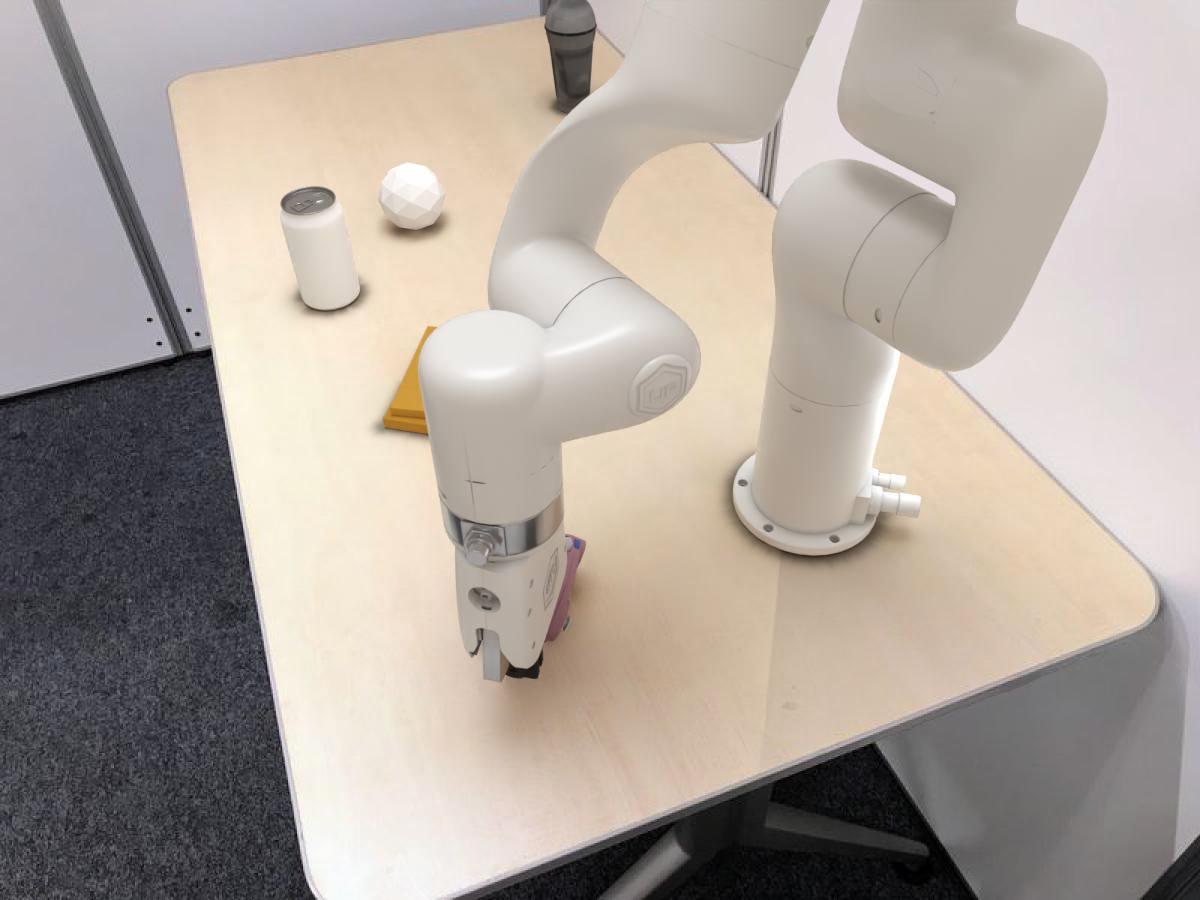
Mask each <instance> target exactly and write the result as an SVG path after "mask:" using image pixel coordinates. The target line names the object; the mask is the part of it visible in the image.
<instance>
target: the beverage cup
mask: <svg viewBox="0 0 1200 900" xmlns="http://www.w3.org/2000/svg"><path fill="white" fill-rule="evenodd" d="M594 12H595V11H594V8H593V6H592V5H591V3H590V2H589V1H588V0H552V1H551V2H550V4H549V6H548V8H547V10H546V13H545V19H544V25H543V27H544V30H545V34H546V39H547V43H548V45H549V55H550V62H551V69H552V76H553V83H554V84H553V85H554V92H555V97H556V101H557V108H558V110H559V111H561V112H563V113H567V114H569V113H570V112H571V111H572V110H573V109H574V108H575V107H576V106H577V105H578V104H580V103H581V102H582V101H583V100H584V99H585V98H587V97H588V96H589V95H590V94H591V87H592V86H591V85H592V84H591V83H592V67H593V54H594V42H595V39H596V32H597V27H598V24H597V20H596V19H597V18H596V15H595V13H594Z"/></svg>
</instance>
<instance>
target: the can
mask: <svg viewBox="0 0 1200 900" xmlns="http://www.w3.org/2000/svg"><path fill="white" fill-rule="evenodd" d="M279 204H280V207H281V209H280V214H279V219H280V224H281V228H282V232H283V235H284V239H285V244H286V247H287V249H288V253H289V257H290V261H291V264H292V268H293V272H294V276H295V279H296V282H297V285H298V289H299V293H300V297H301V299H302V301H303V303H304V304H306V305H307V306H308V307H310V308H312V309H314V310H317V311H324V312H325V311H326V312H328V311H329V312H330V311H336V310H340V309H343V308H345V307H348V306H349V305H351V304H352V303H353V302H354V301H355V300H356V299H357V298H358V296H359V294H360V292H361V284H360V280H359V276H358V272H357V267H356V261H355V257H354V253H353V248H352V244H351V239H350V235H349V231H348V225H347V222H346V217H345V214H344V209H343V207H342V205H341V203H340V202H339V201H338V200H337V197H336V193H335V192H334V191H333V190H332V189H330V188H328V187H325V186H318V185H310V186H302V187H299V188H298V187H297V188H295V189H293V190H291V191H289V192H287V193H286V194H285V195H284V196H283V197H282V198H281V200H280V203H279Z"/></svg>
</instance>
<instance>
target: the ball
mask: <svg viewBox="0 0 1200 900" xmlns="http://www.w3.org/2000/svg"><path fill="white" fill-rule="evenodd" d="M445 199H446V192H445V190H444V188H443V185H442V184H441V182H440V179H439V177H438V175H437V174H436V173H434V172H433V170H431V169H430V168H428V167H427V166H426V165H422V164H417V163H411V162H404V163H402V164H400V165H397V166H395V167H393V168H390V169H388V172H387V173H386V175H385V176H384V178H383V180H382V181H381V183H380V189H379V195H378V200H377V201H378V203H379V204H380V207H381V209H382V211H383V213H384V215H385V218H386V219H387V220H388V221H390V222H391V223H393V224H394V225H395V226H396V227H398V228H402V229H408V230H413V231H418V230H421V229H424V228H426V227H429V226H432V225H434V224H435V223H436V221H437V220H438V219H439V217H440V216H441V214H442V212H443V207H444V202H445Z"/></svg>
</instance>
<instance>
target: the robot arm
mask: <svg viewBox="0 0 1200 900" xmlns="http://www.w3.org/2000/svg"><path fill="white" fill-rule="evenodd" d="M861 1H862V2H861V5H860V9H859V12H858V16H857V19H856V22H855V26H854V28H853V29H854V30H853V32H852V36H851V39H850V43H849V46H848V50H847V53H846V56H845V60H844V64H843V68H842V72H841V76H840V81H839V85H838V90H837V99H836V111H837V114H838V118H839V122H840V123H841V125H842V127H843V129H844V130H845V131H846V132H847V133H848V134H849V135H850V136H851V137H852V138H853V139H854V140H855V141H857V142H858V143H859V144H861V145H863V146H864V147H866V148H868V149H870V150H871V151H873V152H874V153H876V154H878V155H880V156H882V157H884V158H885V159H888V160H889V161H891V162H893V163H895V164H897V165H899V166H901V167H903V168H905V169H908V170H909V171H911V172H913V173H915V174H917V175H919V176H920V177H923V178H925V179H926V180H929V181H931V182H933V183H935V184H937V185H938V186H940V187H942V188H944V189H946V190H948V191H950V192H952V194H954V197H955V199H954V201H955V202H954V204H952V203H950V202H948V201H946V200H944V199H942V198H940V197H939V196H938V195H937V194H935V193H932V192H931V191H929V190H927V189H925V188H923V187H921V186H919V185H917V184H916V183H913V182H911V181H909V180H907V179H906V178H904V177H902V176H899V175H898V174H896V173H893V172H892V171H889V170H888V169H885V168H883V167H880V166H878V165H875V164H873V163H869V162H866V161H862V160H858V159H852V158H836V159H828V160H825V161H822V162H820V163H818V164H815V165H813V166H811V167H809V168H807V169H806V170H805V171H803V173H801V174H800V175H799V176H798V177H797V178H796V179H795V180H793V182H792V183H791V184H790V186H789V187H788V188H787V190H786V191H785V193H784V195H783V196H782V199H781V201H780V202H779V205H778V208H777V210H776V214H775V217H774V221H773V227H772V232H771V258H772V259H771V261H772V262H771V263H772V273H773V281H774V282H773V283H774V295H775V297H774V299H775V307H774V323H773V330H772V331H773V332H772V339H771V346H770V347H771V348H770V354H769V359H768V365H767V373H766V379H765V387H764V392H763V393H764V394H763V400H762V408H761V416H760V421H759V422H760V423H759V429H758V436H757V442H756V449H755V453H754V454H752V455H751V456H750V457H748V458H747V459H746V460H745V461H744V462H743V463H742V464H741V465H740V467H739V469H738V470H737V472H736V475H735V477H734V479H733V486H732V502H733V506H734V510H735V512H736V515H737V516H738V518H739V520H740V521H741V523H742V524H743V525H744V526H745V528H746V529H747V530H748V531H749V532H750V533H751V534H753V535H754V536H755V537H756V538H757V539H759V540H761V541H762V542H764V543H766V544H767V545H770V546H771V547H774V548H776V549H779V550H781V551H784V552H786V553H787V552H788V553H791V554H796V555H805V556H827V555H832V554H833V555H834V554H837V553H841V552H844V551H847V550H849V549H851V548H853V547H854V546H856V545H858V544H859V543H861V542H863V540H864V539H865V538H866V537H868V535H869V534H870V533H871V531H872V530H873V528H874V526H875V524H876V521H877V517H878V516H879V515H880V512H882V513H889V514H895V516H899V517H906V518H912V519H918V518H919V515H920V513H921V507H922V496H921V495H917V494H911V493H904V491H905V488H906V482H907V476H906V475H901V474H895V473H890V474H889V473H884V472H879V469H878V468H873V464H874V456H875V453H876V448H877V446H878V445H877V444H878V441H879V437H880V434H881V429H882V426H883V422H884V418H885V415H886V410H887V407H888V403H889V399H890V396H891V391H892V388H893V385H894V382H895V378H896V375H897V374H896V373H897V372H898V367H899V363H900V356H901V353H902V354H903V355H905V356H906V357H908V358H909V359H911V360H913V361H915V362H916V363H918V364H920V365H922V366H924V367H926V368H928V369H932V370H935V371H939V372H946V373H948V372H949V373H951V372H952V373H954V372H962V371H964V370H967V369H970V368H972V367H974V366H976V365H978V364H979V363H981V362H982V361H983V360H985V359H986V358H987V357H988V356H989V355H990V354H991V353H992V352H993V351H995V349H997V347H998V346H999V344H1000V343H1001V342H1002V341H1003V339H1004V338H1005V336H1006V335H1007V334H1008V333H1009V331H1010V329H1011V328H1012V326H1013V325H1014V323H1015V322H1016V319H1017V318H1018V316H1019V314H1020V312H1021V310H1022V308H1023V307H1024V304H1025V302H1026V301H1027V298H1028V297H1029V295H1030V293H1031V290H1032V288H1033V286H1034V285H1035V282H1036V280H1037V278H1038V276H1039V274H1040V271H1041V270H1042V267H1043V266H1044V263H1045V261H1046V258H1047V257H1048V256H1049V255H1048V254H1049V253H1050V250H1051V248H1052V246H1053V244H1054V242H1055V239H1057V235H1058V234H1059V231H1060V230H1061V227H1062V225H1063V223H1064V221H1065V218H1066V217H1067V215H1068V212H1069V210H1070V208H1071V206H1072V204H1073V202H1074V200H1075V198H1076V196H1077V194H1078V192H1079V189H1080V187H1081V186H1082V184H1083V181H1084V179H1085V178H1086V175H1087V172H1088V170H1089V168H1090V165H1091V163H1092V161H1093V158H1094V156H1095V154H1096V152H1097V149H1098V147H1099V144H1100V141H1101V138H1102V135H1103V132H1104V129H1105V125H1106V124H1105V123H1106V120H1107V113H1108V103H1109V102H1108V101H1109V94H1108V93H1109V91H1108V84H1107V79H1106V77H1105V74H1104V71H1103V70H1102V68H1101V66H1100V64H1098V62H1097V61H1096V60H1095V58H1093V57H1092V56H1091V55H1090V54H1089V53H1087V52H1086V51H1084V50H1083V49H1082V48H1080V47H1078V46H1077V45H1074V44H1072V43H1071V42H1068V41H1065V40H1064V39H1061V38H1058V37H1055V36H1053V35H1050V34H1047V33H1044V32H1041V31H1038V30H1036V29H1033V28H1032V27H1031V28H1030V27H1028V26H1026V25H1023V24H1020V23H1019V22H1018V19H1017V7H1018V2H1019V0H861ZM830 2H831V0H645V1H644V3H643V6H642V9H641V12H640V15H639V18H638V21H637V24H636V27H635V29H634V33H633V35H632V38H631V41H630V44H629V46H628V48H627V51H626V54H625V56H624V59H623V60H622V62H621V64H620V66H619V67H618V69H617V70H616V72H615V73H613V75H612V77H610V78H609V79H608V80H607V81H606V82H605V83H604V84H603V85H601V86H599V87H598V88H597V89H596V90H594V91H593V92H592V93H590V95H589V96H588V97H587V98H585V99H584V100H583V101H582V102H581V103H580V104H578V105H577V106H576V107H575V108H574V109H573V110H572V111H571V112H570V113H567V115H566V116H565V117H564V118H563V119H562V120H561V121H560V122H559V123H558V124H557V125H556V126H555V128H553V130H551V132H550V133H549V134H548V136H546V137H545V139H543V141H542V142H541V143H540V144H539V145H538V147H537V148H536V149H535V150H534V152H532V154H531V156H530V157H529V158H528V160H527V162H526V163H525V164H524V165H523V168H522V170H521V172H520V174H519V176H518V178H517V180H516V183H515V185H514V188H513V190H512V191H511V195H510V198H509V202H508V204H507V208H506V211H505V214H504V216H503V220H502V223H501V226H500V229H499V232H498V235H497V239H496V242H495V244H494V245H495V246H494V248H493V252H492V256H491V260H490V265H489V270H488V271H489V272H488V278H487V289H486V290H487V304H488V308H489V309H482V310H474V311H469V312H465V313H462V314H459V315H457V316H454V317H452V318H450V319H448V320H446V321H444V322H443V323H441V324H440V325H438V326H436V327H437V328H436V329H435V330H434V331H433V332H432V333H431V334H430V336H429V337H428V338H427V340H426V341H425V343H424V345H423V347H422V350H421V353H420V356H419V362H418V374H419V383H420V389H421V395H422V400H423V406H424V412H425V418H426V423H427V429H428V434H427V435H428V440H429V446H430V451H431V457H432V464H433V469H434V475H435V480H436V485H437V493H438V499H439V504H440V511H441V517H442V523H443V527H444V532H445V534H446V536H447V537H448V539H449V541H450V542H451V543H452V544H453V546H454V576H455V580H454V581H455V595H456V605H457V606H456V608H457V609H456V610H457V617H458V625H459V626H458V627H459V631H460V635H461V641H462V644H463V648H464V650H465V652H466V654H467V655H468V656H469V657H470V658H474V657H475V656H478V654H479V651H480V648H481V646H482V671H483V672H482V674H483V675H482V677H483V680H485V681H489V682H490V681H491V682H496V683H500V684H501V683H503V681H504V678H505V676H506V677H509V678H513V679H516V680H517V679H518V680H520V679H523V678H527V679H531V680H537V679H538V678H539V675H540V672H541V671H540V667H542V665H543V662H544V649H543V648H544V644H545V643H544V641H545V638H546V635H547V632H548V628H549V625H550V622H551V619H552V616H553V613H554V610H555V606H556V603H557V600H558V597H559V593H560V590H561V587H562V583H563V580H564V576H565V572H566V566H567V549H566V539H565V534H566V531H565V492H564V491H565V490H564V474H563V473H564V469H563V467H564V466H563V443H568V442H571V441H575V440H579V439H584V438H588V437H592V436H597V435H601V434H606V433H610V432H616V431H619V430H625V429H628V428H632V427H634V426H639V425H642V424H645V423H647V422H651V421H652V420H655V419H657V418H659V417H661V416H662V415H664V414H666V413H667V412H669V411H671V410H672V409H674V408H675V407H676V406H677V405H679V404H680V403H681V402H682V401H683V399H685V397H687V396H688V394H690V392H691V390H692V389H693V386H694V385H695V384H696V382H697V380H698V377H699V374H700V371H701V366H702V365H701V364H702V352H701V346H700V343H699V341H698V339H697V337H696V335H695V333H694V332H693V330H692V328H691V327H690V326H689V325H688V323H687V321H685V320H683V319H682V318H681V317H680V316H679V315H678V314H677V313H676V312H675V311H673V310H672V309H671V308H670V307H668V306H667V305H666V304H665V303H663V302H661V301H660V300H659V299H658V298H656V297H655V296H654V295H652V293H650V292H648V291H647V290H646V289H644V288H643V287H642V286H640V285H639V284H638V283H637V282H635V281H634V280H632V279H631V278H630V277H628V275H626V274H625V273H624V272H622V271H621V270H619V269H618V268H617V267H616V266H614V265H613V264H612V263H611V262H609V261H608V260H606V259H605V258H604V257H603V256H601V254H599V253H598V252H597V251H595V250H596V246H597V242H598V240H599V237H600V234H601V232H602V230H603V227H604V224H605V221H606V217H607V215H608V214H609V210H610V209H611V206H612V204H613V202H614V200H615V198H616V196H617V195H618V193H619V191H620V190H621V188H622V187H623V186H624V184H625V183H626V181H628V179H629V178H630V177H631V175H632V174H633V173H634V172H636V171H637V170H638V169H639V168H641V166H643V164H645V163H646V162H648V161H649V160H651V159H653V158H654V157H657V155H660V154H662V153H664V152H666V151H669V150H671V149H676V148H679V147H682V146H686V145H695V144H717V145H718V144H722V145H735V144H737V145H738V144H739V145H740V144H748V143H752V142H756V141H759V140H761V139H762V138H764V137H766V136H768V135H769V134H770V133H771V132H772V130H773V129H774V128H775V127H776V126H777V123H778V122H779V120H780V117H781V116H782V112H783V110H784V108H785V104H786V103H787V100H788V98H789V96H790V94H791V92H792V89H793V87H794V85H795V82H796V80H797V77H798V76H799V73H800V70H801V68H802V66H803V63H804V62H805V59H806V57H807V54H808V52H809V50H810V47H811V45H812V43H813V41H814V38H815V37H816V34H817V32H818V29H819V26H821V22H822V21H823V18H824V15H825V13H826V11H827V9H828V6H829V5H830ZM884 488H885V489H888V490H892V491H899V492H898V493H897V492H889V491H885V490H884Z"/></svg>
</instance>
